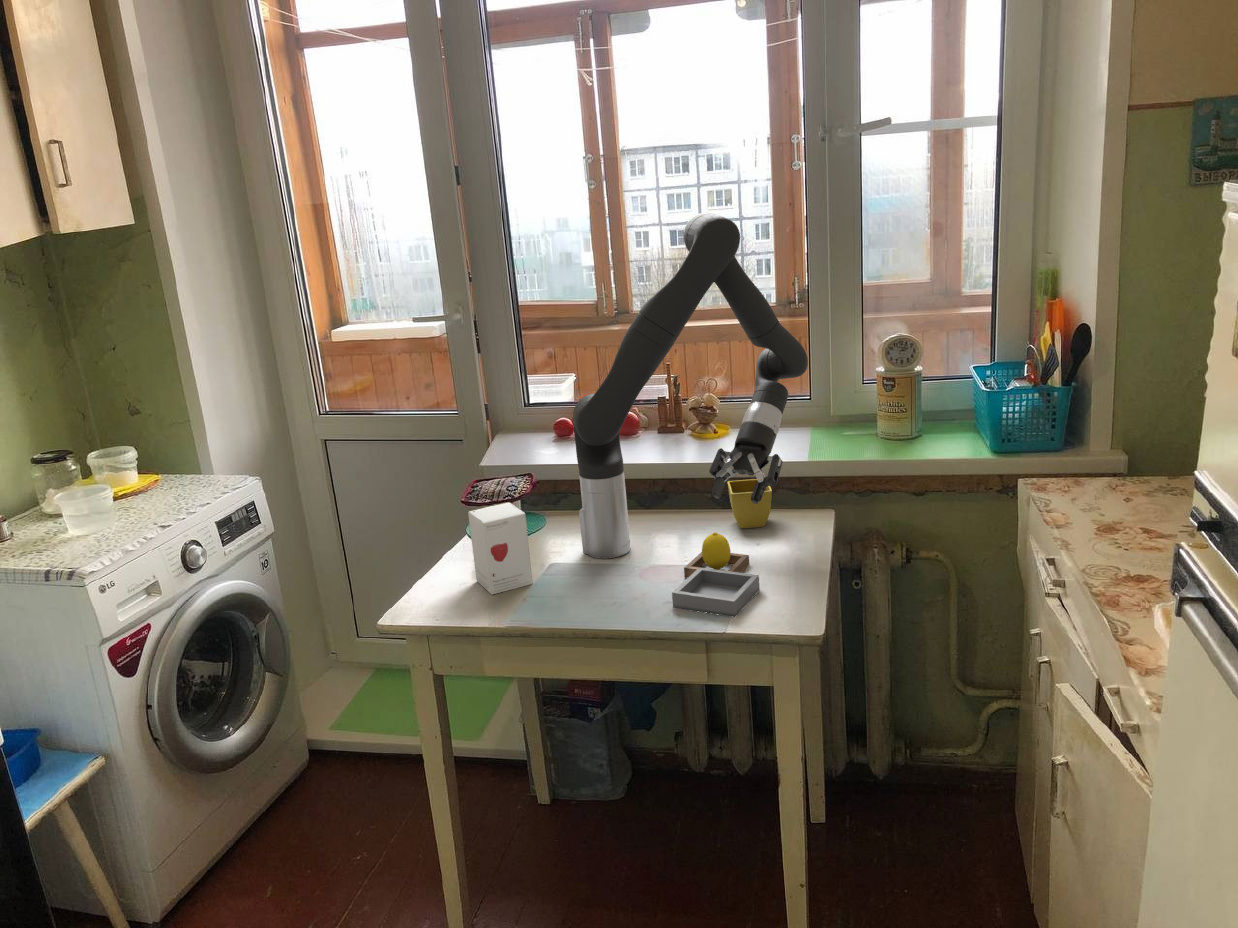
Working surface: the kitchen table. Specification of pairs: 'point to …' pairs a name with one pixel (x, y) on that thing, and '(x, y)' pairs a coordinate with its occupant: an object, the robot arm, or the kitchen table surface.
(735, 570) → the wooden square frame
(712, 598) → the charcoal tray
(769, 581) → the kitchen table surface
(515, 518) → the supplement box
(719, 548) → the lemon
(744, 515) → the flower pot
